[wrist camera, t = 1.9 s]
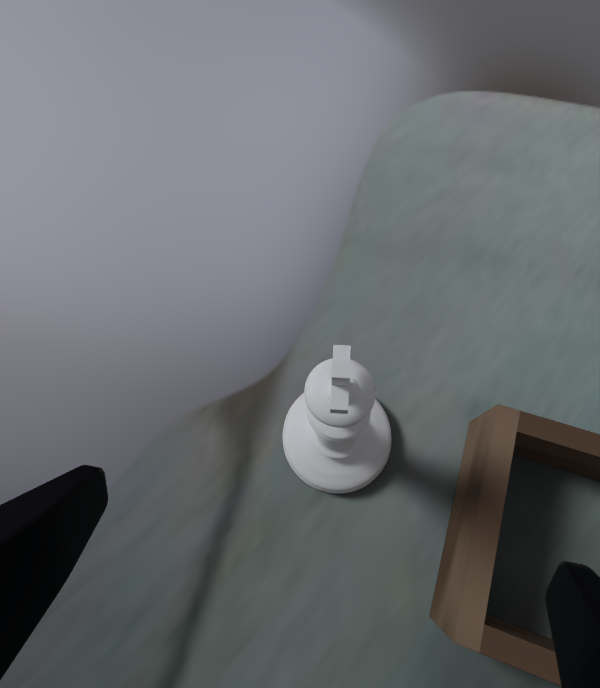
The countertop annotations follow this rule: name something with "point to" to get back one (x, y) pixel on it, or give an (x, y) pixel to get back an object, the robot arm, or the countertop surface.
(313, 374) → the chess piece
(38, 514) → the robot arm
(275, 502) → the countertop surface
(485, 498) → the walnut collar
